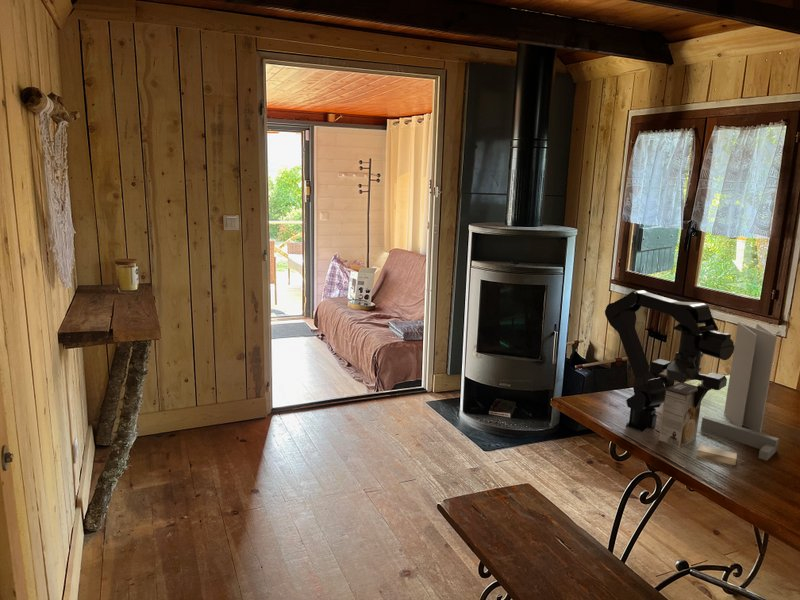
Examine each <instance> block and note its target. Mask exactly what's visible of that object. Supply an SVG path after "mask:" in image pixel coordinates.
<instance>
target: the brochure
mask: <svg viewBox="0 0 800 600" xmlns="http://www.w3.org/2000/svg"><path fill="white" fill-rule="evenodd" d="M734 339H735V341H734V346H735V347H734V351H733V354H732V357H731V358H732V361H731V365H730V371H729V379H728V386H727V391H726V397H725V398H726V399H725V405H724V412H723V414H724V413H725V414H726V415H725V414H724V415H725V417H728V418H729V419H728V418H727V419H728V420H729V422H730V423H731V422H732V423H733V424H734V425H737V426H740V427H743V426H744V425H745V426H744V427H745V428H747V427H748V428H747V429H750V430H753V431H756V432H759V433H762V427H763V422H764V418H765V417H764V416H765V411H766V404H767V398H768V392H769V387H770V382H771V381H770V380H771V374H772V370H773V363H774V357H775V352H776V345H777V340H778V336H777V335H776V334H775V333H773V332H772V331H770V330H769V329H767V328H765V327H764V326H762V325H761V324H760V323H756V326H755V327H753V326H750V325H748V324H744V323H742V322H737V327H736V334H735V338H734ZM732 423H731V424H732ZM742 424H743V425H742Z"/></svg>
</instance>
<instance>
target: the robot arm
mask: <svg viewBox="0 0 800 600" xmlns="http://www.w3.org/2000/svg"><path fill="white" fill-rule="evenodd" d="M642 307H643V308H647V309H649V310H653V311H655V312H659V313H662V314H665V315H668V316H670V317H672V318H673V319H674V320H675V321H676V322H678V324H677V325H675V326H673V330H675V331H679V332H680V334H679V335H680V336H679V341H678V350H677V351H676V353H675V356H674V358H673V360H672V361H670V360H666V359H662V358H657V359H656V360H653V361H651V362H650V363H649V362H648V359H647V356H646V354H645V352H644V348H643V346H642V343H641V341H640V337H639V336H638V335H639V334H638V332H637V330H636V323H637V314H636V313H637V312H638V311H639V310H641V308H642ZM604 315H605V318H606V319H607V321H608V323H609V325H610V326H611V327H612V328H613V329H614V330H615V331H616V332H617V334H618V335H619V339H620V342H621V344H622V346H623V350H624V351H625V355H626V357H627V360H628V363H629V366H630V368H631V372H632V375H633V376H634V379H633V381H634V382H633V388H632V390H633V393H634V394H633V395H632V396H630V397H628V398H626V399H625V400H626V401H625V402H626V405H627V408H629V409H630V411H629V418H628V419H629V420H628V422H626V424H625V425H626V427H630V428H632V429H635V430H638V431H641V432H644V431H645V430H647V429H652V428H655V427H656V425H657V417H658V416H657V408H660V407H661V405H662V404H664V397H665V389H666V388H668V387H670V386H673V385H675V381H677V382H678V383H686V381H687V380H692V381H693V380H696V381H699V382H700V384H699V385H696V386H697V389H698V392H697V396H696V400H695V407H698V405H699V404H700V402H701V403H702V401H703V398H704V397H705V396H706V394H707V393H708V392H709V391H711V390H714V391H720V390H723V388H725V387H726V386H727V383H728V378H727V377H726V375H724V374H720V373H716V372H713V371H711V372H709V373H707V374H704V373H700V372H701V369H702V367H701V359H702V357H703V356H704V355H705V356H709V357H713V358H715V359H719V360H721V361H727V360H729V359H730V358H732V357H733V352H734V347H735V346H734V345H735V342H734V341H733V339H732V338H731V336H732V334H731V333H728V332H720V331H719V328H718V325H717V323H716V322H715V319H714V317H713V314H712V311H711V309H710V306H709V305H708V304H706V303H704V302H696V301H695V302H693V301H678V300H676V299H672V298H669V297H664V296H662V295H658V294H654V293H652V292H649V291H646V290H644V289H643V290H642V289H640V290H632V291H631V292H630V293H628V294H626V295H625V296H623V297H621V298H619V299H617V300H615V301H614V302H610V303H608V304H607V305H606V307H605V310H604ZM699 325H700V326H699ZM654 374H656V376H655V375H654Z"/></svg>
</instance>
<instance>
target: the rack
mask: <svg viewBox="0 0 800 600" xmlns="http://www.w3.org/2000/svg"><path fill="white" fill-rule="evenodd" d="M701 419H702V420H701V423H700V425H701V426H700V430H701V431H704V432H706V433H710V434H713V435H716V436H719V437H722V438H725V439H728V440H731V441H734V442H737V443H740V444H743V445H747V446H749V447H752V448H755V449H759V452H758V459H760V460H763V461H766V462H767V461H768V460H769V459H771V458H772V456H774V455H775V453H777V451H778V445H779V439H780V438H779V437H775V436H771V435H769V434H767V433H763V432H761V433H759V432H756V431H753V430H751V429H749V428H747V427H743V426H742V427H740V426H737V425H734V424H732V423H731V422H727V421H723V420H720V419H717V418H713V417H710V416H707V415H704V416H703V417H702V418H701Z"/></svg>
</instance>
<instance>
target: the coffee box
mask: <svg viewBox="0 0 800 600" xmlns="http://www.w3.org/2000/svg"><path fill="white" fill-rule="evenodd" d="M697 386H698V385H693V384H691V383H687V382H684V383H680V382H678V383H674V385H673V386H670V387H668V388H666V389H665V397H664V402H663V405H662V413H661V422H660V429H659V435H658V436H659V438H658V441H661V442H662V443H666V444H668V445H671V446H674V447H676V448H679V449H681V448H683V447H686V446H687V445H689V444H691V443H692V442H694V441H695V440H697V439H696V438H697V431H698V425H699V418H700V412H701V405H702V401H701V402H700V404H699V405H698V407H695V400H696V396H697V392H698V389H697Z"/></svg>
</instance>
